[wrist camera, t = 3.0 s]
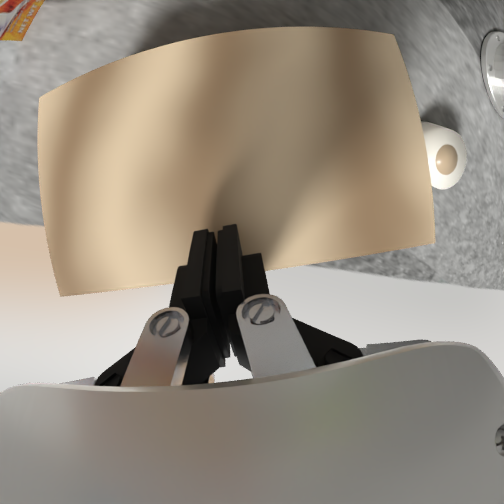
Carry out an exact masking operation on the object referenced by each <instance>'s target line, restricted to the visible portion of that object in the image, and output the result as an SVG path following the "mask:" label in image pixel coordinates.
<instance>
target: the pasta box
mask: <svg viewBox="0 0 504 504" xmlns="http://www.w3.org/2000/svg"><path fill="white" fill-rule="evenodd" d="M43 2H44V0H0V40H14V41H22V40H23V38H24V36H25V34H26V32H27V30H28V28H29V26H30V24H31V22H32V20H33V19H34V17H35V15H36V14H37V12H38V10H39V8H40V7H41V5H42V4H43Z"/></svg>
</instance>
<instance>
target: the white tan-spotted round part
mask: <svg viewBox="0 0 504 504" xmlns="http://www.w3.org/2000/svg"><path fill="white" fill-rule="evenodd" d="M421 125H422V129H423V134H424V139H425V145H426V150H427V156H428V163H429V170H430V177H431V185H432V186H434V187H435V188H438V189H447V188H450V187H452V186H453V185H455V184H456V183H457V182H458V181H459V179H460V178H461V176H462V174H463V172H464V170H465V166H466V161H467V152H466V146H465V143H464V141H463V139H462V138H461V136H460V135H459V134H458V133H457V132H455V131H454V130H451V129H448V128H445V127H442V126H439V125H436V124H433V123H430V122H426V121H421Z"/></svg>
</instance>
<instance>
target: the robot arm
mask: <svg viewBox="0 0 504 504" xmlns="http://www.w3.org/2000/svg"><path fill="white" fill-rule="evenodd" d="M481 66H482V73H483V79H484V83H485V87H486V90H487V93H488V96H489V98H490V100H491V102H492V105H493V106H494V108H495V110H496V111H497V112H498V114H499V115H500V116H501V117H502V118H503V119H504V33H503V32H491V33H489V34H488V35H487V36H486V37H485V39H484V42H483V45H482V50H481ZM230 344H231V347H232V350H233V352H234V356H237V358H238V362H239V364H240V365H242V366H243V367H245V368H246V369H248V370H249V371H251V372H252V376H253V378H252V379H245V380H237V381H229V382H218V383H214V374H213V373H214V372H215V371H216V370H217V369H218V368H219V367H225V358H228V357H230ZM0 504H504V378H503V376H502V374H501V373H500V371H499V370H498V369H497V368H496V366H495V365H494V364H493V362H492V361H491V360H490V359H489V358H488V357H487V356H486V355H485V354H484V353H483V352H482V351H481V350H479V349H478V348H476V347H474V346H472V345H470V344H466V343H461V342H450V341H437V342H431V341H428V340H413V341H403V342H393V343H381V344H368V345H367V346H366V348H358V347H357V346H355V345H353V344H352V343H350V342H347V341H345V340H342V339H340V338H338V337H335V336H333V335H331V334H328V333H326V332H323V331H321V330H319V329H317V328H314V327H312V326H310V325H307V324H305V323H303V322H301V321H298V320H296V319H294V318H292V317H291V315H290V313H289V311H288V309H287V307H286V305H285V303H284V302H283V301H282V300H281V299H280V298H278V297H277V296H274V295H270V294H269V289H268V284H267V279H266V274H265V269H264V264H263V259H262V255H261V253H255V254H249V255H243V254H242V249H241V244H240V238H239V233H238V228H237V224H232V225H226V226H223V230H218V237H217V242H216V238H215V234H214V232H209V230H208V229H203V230H198V231H194V232H193V237H192V242H191V247H190V252H189V257H188V262H187V265H183V266H179V267H178V269H177V273H176V277H175V282H174V287H173V291H172V296H171V300H170V306H169V308H165V309H162V310H159V311H158V312H156V313H154V314H153V315H152V316H151V317H150V318H149V319H148V321H147V323H146V324H145V327H144V329H143V331H142V334H141V336H140V339H139V341H138V343H137V346H136V347H135V348H134V349H133V350H132V351H130V352H129V353H128V354H126V355H125V356H124V357H122V358H121V359H120V360H119V361H117V362H116V363H115V364H113V365H112V366H111V367H109V368H108V369H107V370H105V371H104V372H103V373H102V374H101V375H100V376H99V377H98V379H97V380H96V379H95V378H94V377H91V378H86V379H82V380H76V381H71V382H66V383H59V384H56V383H27V384H20V385H17V386H13V387H10V388H8V389H6V390H4V391H2V392H1V393H0Z"/></svg>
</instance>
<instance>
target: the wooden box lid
mask: <svg viewBox="0 0 504 504" xmlns="http://www.w3.org/2000/svg"><path fill="white" fill-rule="evenodd" d="M38 169H39V184H40V195H41V204H42V212H43V219H44V226H45V231H46V237H47V242H48V248H49V253H50V258H51V262H52V266H53V270H54V275H55V279H56V283H57V286H58V290H59V293H60V296H71V295H81V294H90V293H99V292H108V291H116V290H125V289H134V288H141V287H150V286H158V285H166V284H174V282H175V277H176V273H177V269H178V267H179V266H183V265H187V262H188V257H189V252H190V247H191V242H192V237H193V232H194V231H198V230H203V229H208V230H209V232H214V234H215V238H216V242H217V237H218V230H223V226H226V225H232V224H237V228H238V233H239V238H240V244H241V249H242V254H243V255H249V254H255V253H261V255H262V259H263V264H264V269H265V271H268V270H274V269H282V268H288V267H295V266H302V265H308V264H314V263H321V262H327V261H333V260H340V259H346V258H352V257H358V256H364V255H370V254H376V253H382V252H387V251H393V250H399V249H405V248H410V247H416V246H421V245H427V244H432V243H435V223H434V207H433V195H432V186H431V177H430V170H429V163H428V156H427V150H426V145H425V139H424V134H423V129H422V125H421V120H420V116H419V112H418V108H417V104H416V100H415V96H414V92H413V89H412V85H411V82H410V79H409V76H408V72H407V69H406V66H405V63H404V60H403V58H402V55H401V52H400V49H399V47H398V44H397V42H396V39H395V36H394V35H393V34H388V33H381V32H375V31H367V30H358V29H348V28H334V27H274V28H260V29H249V30H240V31H232V32H225V33H219V34H213V35H207V36H202V37H197V38H192V39H188V40H183V41H179V42H175V43H171V44H167V45H164V46H160V47H157V48H153V49H150V50H146V51H143V52H140V53H137V54H134V55H131V56H128V57H125V58H123V59H120V60H117V61H115V62H112V63H109V64H107V65H104V66H102V67H100V68H97V69H95V70H93V71H90V72H88V73H86V74H84V75H81V76H79V77H77V78H75V79H73V80H71V81H69V82H67V83H65V84H63V85H61V86H59V87H57V88H56V89H54V90H52V91H50V92H48V93H46V94H45V95H43V96H41V97H40V98H39V111H38Z"/></svg>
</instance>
